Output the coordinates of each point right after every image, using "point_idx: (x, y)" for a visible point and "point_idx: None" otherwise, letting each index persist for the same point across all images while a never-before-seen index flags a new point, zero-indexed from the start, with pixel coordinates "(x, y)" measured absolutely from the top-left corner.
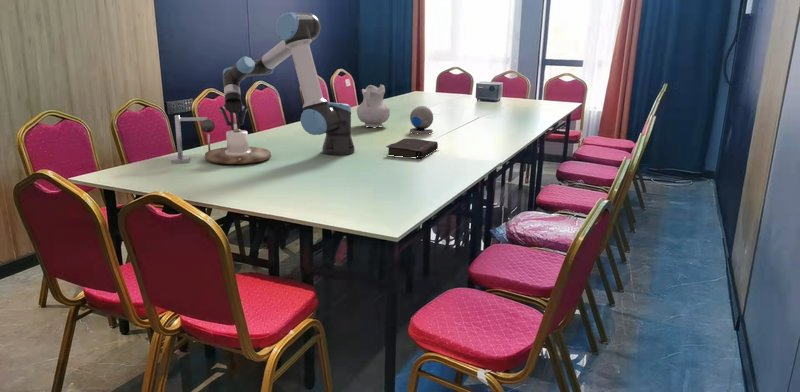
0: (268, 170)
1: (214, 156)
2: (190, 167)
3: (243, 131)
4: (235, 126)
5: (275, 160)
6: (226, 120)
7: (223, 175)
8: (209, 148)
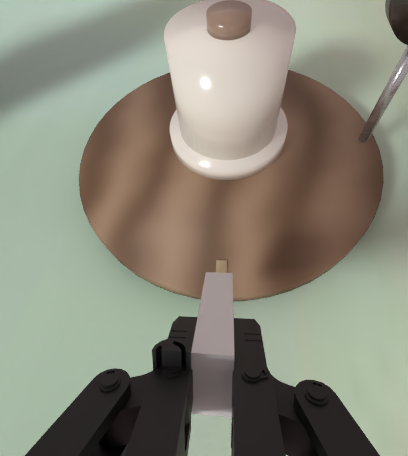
0: (155, 41)
1: (326, 112)
2: None
3: (188, 34)
4: (213, 327)
5: (95, 127)
6: (350, 421)
7: None
8: (366, 125)
